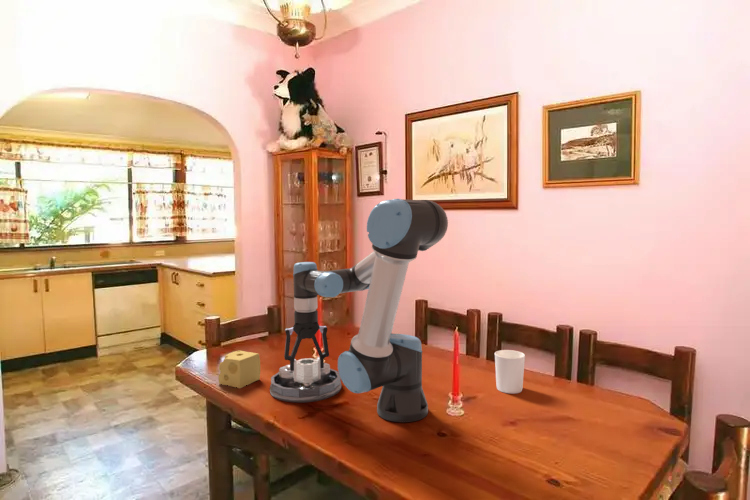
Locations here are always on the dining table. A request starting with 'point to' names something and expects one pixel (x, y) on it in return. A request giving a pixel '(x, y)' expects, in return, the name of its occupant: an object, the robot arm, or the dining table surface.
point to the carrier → (304, 386)
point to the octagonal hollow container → (307, 370)
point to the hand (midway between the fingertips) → (307, 378)
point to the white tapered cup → (509, 370)
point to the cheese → (239, 369)
